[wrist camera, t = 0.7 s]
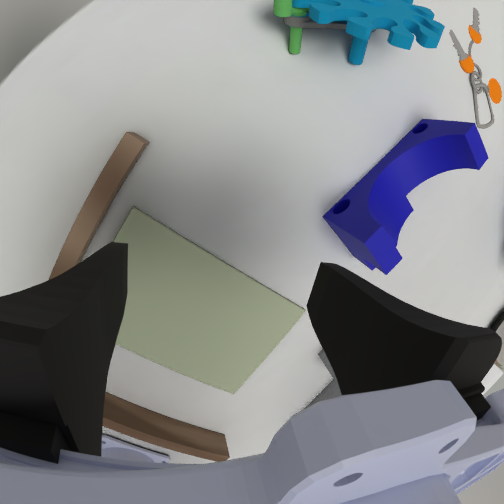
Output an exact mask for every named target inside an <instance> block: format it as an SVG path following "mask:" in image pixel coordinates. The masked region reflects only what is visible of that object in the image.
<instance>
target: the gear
mask: <svg viewBox="0 0 504 504" xmlns="http://www.w3.org/2000/svg"><path fill="white" fill-rule="evenodd" d="M412 3H413V0H274V15H276V16H279V17H284V23H285V24H287V25H289V26H291V30H290V43H289V52H290V53H292V54H298V53H300V48H301V38H302V28H328V29H344V30H346V32H347V33H348V34H350V35H352V36H353V41H352V45H351V50H350V54H349V58H348V60H349V61H350V62H351V63H353V64H356V65H361V64H362V62H363V58H364V54H365V51H366V47H367V43H368V39H369V38H370V34H371V32H374V31H375V30H376V29H379V28H382V29H386V30H388V31H390V33H389V37H388V42H389V43H390V44H391V45H393V46H396V47H399V48H403V49H407V50H410V48H411V45H412V42H413V40H414V35H415V36H416V41H417V42H418V43H419V44H420V45H421V46H423V47H425V48H437V45H438V43H439V40H440V37H441V35H442V32H443V30H444V27H445V26H444V25H442V24H441V23H439V22H437V21H434V20H433V18H434V13H433V12H432V11H431V10H430V9H428V8H425V7H422V6H416V5H412ZM307 10H309V12H308V11H307ZM412 33H413V34H414V35H413V34H412Z"/></svg>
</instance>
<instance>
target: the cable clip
mask: <svg viewBox="0 0 504 504" xmlns="http://www.w3.org/2000/svg"><path fill="white" fill-rule="evenodd" d="M487 159H488V155H487V153H486V150H485V147H484V145H483V142H482V140H481V137H480V135H479V132H478V130H477V127H476V125H475V123H468V122H458V121H445V120H430V119H422V120H421V121H420V122H419V123H418V124H417V125H416V126H415V127H414V128H413V129H412V130H411V131H410V132H409V133H408V134H407V135H406V136H405V137H404V138H403V139H402V140H401V141H400V142H399V143H398V144H397V145H396V146H395V147H394V148H393V149H392V150H391V151H390V152H389V153H388V154H387V155H386V156H385V157H384V158H383V159H382V160H381V161H380V162H379V163H378V164H377V165H376V166H375V167H373V168H372V169H371V170H370V171H369V172H368V173H367V174H366V175H365V176H364V177H363V178H362V179H361V180H360V181H359V182H358V183H357V184H356V185H355V186H354V187H353V188H352V189H351V190H350V191H349V192H348V193H347V194H346V195H345V196H344V197H343V198H342V199H340V200H339V201H338V202H337V203H336V204H335V205H334V206H333V207H332V208H331V209H330V210H329V211H328V212H327V213H326V214H325V215H324V216H323V218H324V219H325V220H326V221H327V223H328V224H329V225H330V226H331V228H332V229H333V230H334V232H335V233H336V234H337V235H338V237H339V238H340V239H341V240H342V242H343V243H344V244H345V246H346V247H347V248H348V249H349V251H350V252H351V253H352V255H353V256H354V257H355V258H357V259H358V260H359V261H361V262H362V263H363V264H364V265H366V266H367V267H368V268H370V269H371V270H373V269H374V268H375V267H376V268H378V269H379V270H380V271H382V272H383V273H384V274H386V275H387V274H388V273H389V272H390V271H391V270H392V269H393V268H394V267H395V266H396V265H397V264H398V263H399V262H400V261H401V259H402V257H401V255H400V253H399V252H398V250H397V249H396V246H397V241H398V236H399V233H400V230H401V228H402V225H403V224H404V222H405V220H406V219H407V217H408V216H409V215H410V213H411V212H412V211H413V208H412V206H411V204H410V203H409V201H408V199H407V197H406V195H407V194H408V193H409V192H410V191H411V190H413V189H414V188H415V187H416V186H418V185H419V184H420V183H422V182H424V181H425V180H427V179H429V178H431V177H433V176H435V175H437V174H440V173H442V172H446V171H449V170H454V169H462V168H470V169H477V170H479V169H480V168H481V167H482V165H483V164H484V163H485V162H486V160H487Z"/></svg>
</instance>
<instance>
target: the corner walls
mask: <svg viewBox="0 0 504 504" xmlns="http://www.w3.org/2000/svg"><path fill="white" fill-rule="evenodd" d="M148 143H149V142H148V141H147V140H145V139H144V138H142V137H141V136H139V135H137V134H136V133H134V132H126V133H125V135H124V136H123V138H122V140H121V141H120V143H119V144H118V146H117V147H116V149H115V151H114V152H113V154H112V156H111V157H110V159H109V160H108V162H107V164H106V166H105V167H104V169H103V171H102V172H101V174H100V176H99V178H98V179H97V181H96V183H95V185H94V186H93V188H92V190H91V192H90V194H89V196H88V197H87V199H86V201H85V203H84V205H83V207H82V209H81V211H80V213H79V215H78V217H77V219H76V221H75V223H74V225H73V227H72V229H71V231H70V233H69V235H68V237H67V239H66V241H65V243H64V246H63V248H62V250H61V252H60V254H59V257H58V259H57V261H56V264H55V266H54V268H53V271H52V273H51V275H50V278H49V280H50V279H52V278H54V277H56V276H58V275H60V274H62V273H64V272H66V271H67V270H69V269H71V268H72V267H74V266H75V265H77V264H79V263H80V262H81V260H82V258H83V255H84V253H85V251H86V249H87V248H88V246H89V244H90V242H91V240H92V238H93V236H94V234H95V232H96V230H97V228H98V226H99V225H100V223H101V221H102V219H103V217H104V215H105V214H106V212H107V210H108V208H109V207H110V205H111V203H112V201H113V200H114V198H115V196H116V194H117V193H118V191H119V189H120V188H121V186H122V184H123V183H124V181H125V179H126V178H127V176H128V174H129V173H130V171H131V170H132V168H133V166H134V165H135V163H136V162H137V160H138V159H139V157H140V156H141V154H142V152H143V151H144V149H145V148H146V146H147V145H148ZM102 426H104V427H107V428H109V429H112V430H114V431H117V432H120V433H122V434H125V435H128V436H131V437H133V438H136V439H139V440H142V441H145V442H148V443H151V444H154V445H157V446H161V447H164V448H167V449H170V450H174V451H177V452H181V453H185V454H188V455H192V456H196V457H200V458H204V459H208V460H213V461H217V462H221V461H226V460H227V459H228V458H229V457H230V456H229V452H228V447H227V443H226V439H225V435H224V434H220V433H217V432H213V431H210V430H207V429H203V428H200V427H197V426H193V425H190V424H187V423H184V422H181V421H178V420H175V419H172V418H169V417H167V416H164V415H161V414H158V413H156V412H153V411H150V410H148V409H145V408H142V407H140V406H137V405H135V404H132V403H130V402H128V401H125V400H123V399H120V398H118V397H116V396H113V395H111V394H109V393H107V392H105V401H104V411H103V425H102Z"/></svg>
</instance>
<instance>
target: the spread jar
mask: <svg viewBox="0 0 504 504" xmlns="http://www.w3.org/2000/svg"><path fill="white" fill-rule="evenodd" d="M490 329H492V330H494V331H495V332H496V333H497V334H498V335H499V336H500V337H501V338H502V347H501V351H500V353H499V356H498V358H497V359H496V361H495V363H494V364H495V365H496V366H497V367H498V368H499V369H500V370H502V371H503V372H504V312H503V313H502V314H501V315H500V316H499V317H498V318H497V319H496V321H495V322H494V324H493V325H492V327H491V328H490Z"/></svg>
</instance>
